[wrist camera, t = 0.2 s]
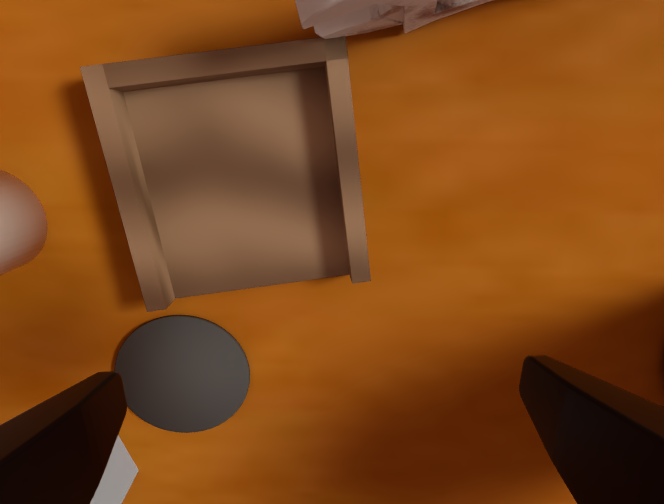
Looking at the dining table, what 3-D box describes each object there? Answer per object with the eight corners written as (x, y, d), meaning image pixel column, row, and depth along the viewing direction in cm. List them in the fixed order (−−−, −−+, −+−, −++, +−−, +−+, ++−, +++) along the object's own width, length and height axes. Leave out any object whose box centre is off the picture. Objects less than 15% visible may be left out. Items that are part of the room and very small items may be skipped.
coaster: (251, 428, 26) (250, 431, 25) (124, 430, 25) (122, 433, 25) (248, 315, 24) (247, 317, 23) (109, 314, 23) (107, 316, 23)
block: (139, 469, 26) (110, 525, 22) (82, 487, 26) (44, 546, 22) (111, 421, 25) (75, 471, 21) (52, 440, 25) (6, 494, 21)
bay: (365, 268, 23) (370, 280, 21) (161, 296, 23) (147, 311, 21) (341, 45, 20) (345, 34, 18) (103, 74, 20) (79, 67, 18)
